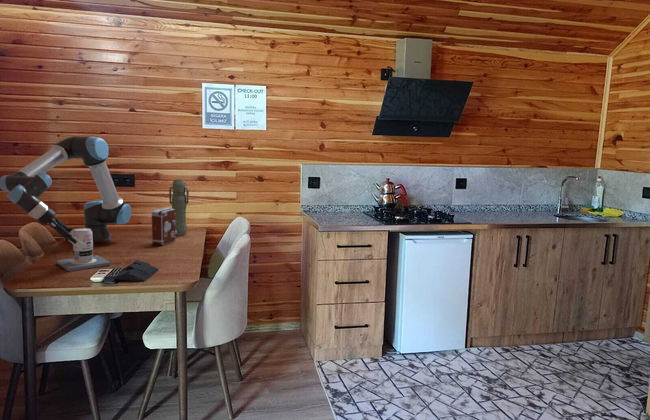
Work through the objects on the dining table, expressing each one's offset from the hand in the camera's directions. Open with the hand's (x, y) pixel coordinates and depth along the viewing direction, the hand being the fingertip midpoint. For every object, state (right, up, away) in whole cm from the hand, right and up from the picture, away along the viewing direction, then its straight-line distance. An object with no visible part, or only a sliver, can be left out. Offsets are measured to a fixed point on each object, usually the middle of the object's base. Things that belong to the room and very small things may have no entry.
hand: (81, 244), depth 221 cm
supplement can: (0, -8, +2) cm, 8 cm away
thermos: (+22, 0, +79) cm, 81 cm away
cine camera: (+21, -3, +56) cm, 60 cm away
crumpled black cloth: (+30, -13, -13) cm, 35 cm away
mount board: (0, -10, +2) cm, 10 cm away
